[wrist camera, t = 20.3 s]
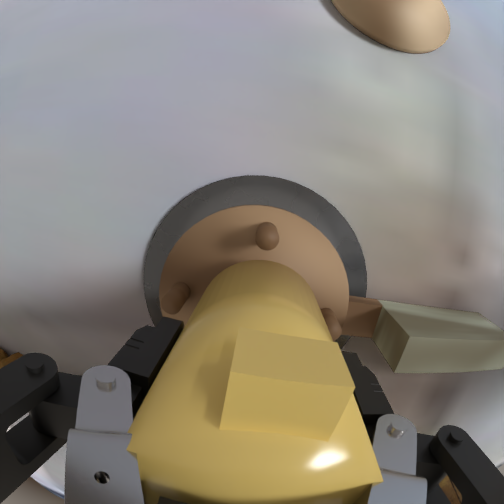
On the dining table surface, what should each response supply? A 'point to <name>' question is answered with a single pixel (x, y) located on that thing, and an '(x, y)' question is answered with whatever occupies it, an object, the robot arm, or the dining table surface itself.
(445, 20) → the coaster
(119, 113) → the dining table surface
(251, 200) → the stand base
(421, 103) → the dining table surface
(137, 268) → the dining table surface
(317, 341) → the cylinder with side tabs
